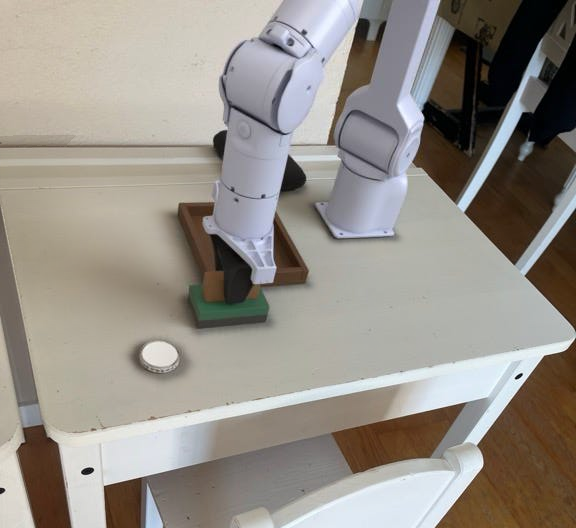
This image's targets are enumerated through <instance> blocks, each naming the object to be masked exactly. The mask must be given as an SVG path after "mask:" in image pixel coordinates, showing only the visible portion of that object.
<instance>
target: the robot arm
mask: <svg viewBox="0 0 576 528" xmlns="http://www.w3.org/2000/svg"><path fill="white" fill-rule="evenodd" d="M440 4H441V0H392V2H391V6H390V9H389V13H388V17H387V19H386V24H385V27H384V31H383V34H382V39H381V41H380V46H379V50H378V52H377V53H378V54H377V57H376V59H375V60H376V61H375V64H374V67H373V71H372V74H371V79H370V82H369V84H366V85H362V86H360V87H358V88H357V89H355V90H354V91H353V92H351V93H350V95H349V96H347V98H346V101H345V103H344V107H343V109H342V112H341V114H340V115H339V116H338V120H337V122H336V124H335V128H334V132H333V140H334V146H335V147H336V148H337V149H338V153H337V156H336V157H337V158H339V159H340V163H339V165H338V169H337V172H336V175H335V178H334V181H333V182H334V183H333V186H332V190H331V193H330V195H329V199H328V201H317V202H315V205H314V207H315V208H316V210H317V212H318V214H319V215H320V216H321V218H322V220H323V222H324V223H325V224H326V226H327V228H328V229H329V231H330V232H331V234H332V235H333V237H334V238H335V239H356V238H357V239H358V238H377V237H380V238H381V237H382V238H383V237H393V236H394V235H395V231H394V230H393V228H394V226H395V223H396V220H397V218H398V216H399V213H400V211H401V208H402V206H403V203H404V201H405V198H406V195H407V191H408V186H409V185H408V182H409V181H408V174H407V170H408V169H409V168H410V166H411V164H412V162H413V161H414V159H415V157H416V155H417V153H418V150H419V147H420V145H421V143H420V142H421V134H422V130H423V127H424V121H425V116H424V114H423V113H422V111H421V109H420V108H419V106H418V104H417V102H416V100H415V99H414V98H413V96H412V94H411V91H412V88H413V86H414V83H415V80H416V77H417V73H418V70H419V67H420V64H421V61H422V58H423V55H424V52H425V49H426V47H427V43H428V40H429V36H430V34H431V31H432V29H433V28H432V27H433V25H434V22H435V19H436V16H437V14H438V10H439V6H440ZM360 11H361V5H360V0H282V1H281V3H280V5H279V6H278V7H277V9H276V10H275V12H274V13H273V15H272V16H271V17H270V19H269V21H268V22H267V23H266V25H265V26H264V27H263V29H262V30H261V32H260V33H259V35H258V37H257V36H255V37H251V38H250V39H244V40H242V41H240V42H238V43H237V44H236V45H235V46H234V48H233V49H232V50H231V51H230V53H229V55H228V56H227V58H226V61H225V64H224V66H223V70H222V73H221V74H220V75H219V77H218V93H219V96H220V100H221V101H222V103H223V113H222V114H223V115H222V121H223V124H224V125H225V127H226V128H227V129H226V130H227V136H226V144H225V150H224V157H222V165H221V172H220V173H221V174H220V179H219V180H214V181H213V187H212V195H211V197H212V199H213V202H215V204H214V211H213V215H212V216H206V217H204V218H203V222H202V224H203V227H204V229H205V231H206V232H207V233H208V234H209V235H210V238H211V241H212V245H213V251H214V259H215V271H223V272H224V298H225V301H226V303H227V304H232V303H243V302H244V301H245V299H246V298H247V296H248V294H249V293H250V291H251V289H252V287H253V286H254V284H267V283H273V280H274V276H275V272H276V265H275V263H274V262H275V257H274V255H273V234H274V226H273V220H274V215H275V211H276V212H277V207H278V203H279V197H280V193H281V191H280V188H281V184H282V180H283V175H284V171H285V166H286V162H287V157H288V154H290V149H291V144H292V139H293V136H294V131H296V129H297V128H299V127H300V125H301V124H302V123H303V122H304V120H306V118H307V117H308V115H309V113H310V112H311V109H312V108H313V105H314V102H315V99H316V97H317V93H318V91H319V88H320V87H321V86H322V83H323V79H325V72H324V69H325V67H326V65H327V64H328V62H329V61H330V60H331V58H332V56H333V55H334V53H335V52H336V50H337V49H338V48H339V46H340V44H341V43H342V41H343V40H344V38H345V37H346V36H347V35H348V33H349V32H350V30H351V29H352V27H353V26H354V24H355V23H356V21H357V20H358V18H359V16H360V13H361V12H360Z"/></svg>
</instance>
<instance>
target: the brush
mask: <svg viewBox="0 0 576 528" xmlns="http://www.w3.org/2000/svg"><path fill="white" fill-rule="evenodd" d="M202 281H203V280H202ZM187 304H188V306H189V309H190V312H191V314H192V317H193V320H194V322H195V325H196V329H198V330H199V329H209V328H219V327H228V326H239V325H248V324H258V323H259V324H260V323H261V324H262V323H266V322H267V319H268V314H269V311H270V304H269V303H268V300H267V299H266V296H265V294H264V292H263V290H262V287H260V284H254V286H253V287H252V289H251V291H250V293H249V294H248V296H247V298H246V299H245V301H244V302H243V303H232V304H227V303H226V301H225V298H224V272H223V271H210V272H205V274H204V281H203V282H202V283H201V284H200V283H199V284H189V285H188V294H187Z"/></svg>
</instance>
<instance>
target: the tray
mask: <svg viewBox="0 0 576 528" xmlns="http://www.w3.org/2000/svg"><path fill="white" fill-rule="evenodd" d="M214 204H215V201H200V202H195V201H194V202H178V208H177V219H178V221H179V224H180V226H181V229H182V232H183V234H184V237H185V239H186V241H187V244H188V246H189V249H190V252H191V255H192V256H193V259H194V262H195V264H196V266H197V269H198V272H199V274H200V276H201V279H202V281H204V274H205V272H210V271H215V259H214V251H213V245H212V241H211V238H210V235H209V234H208V233H207V232H206V231H205V229H204V227H203V224H202V222H203V218H204V217H206V216H212V215H213V211H214ZM273 226H274V234H273V255H274V257H275V262H274V263H275V265H276V272H275V276H274V280H273V283H267V284H260V288H263V287H264V288H265V287H275V286H276V287H277V286H289V285H290V286H291V285H302V284H303V285H304V284H306V282H307V278H308V276H309V272H310V270H309V268H308V266H307V264H306V262H305V261H304V259H303V257H302V255H301V254H300V252H299V250H298V248H297V246H296V244H295V243H294V241H293V239H292V237H291V236H290V234H289V232H288V230H287V228H286V227H285V225H284V222H283V221H282V220H281V218H280V216H279V213H277V210H276V211H275V215H274V220H273Z"/></svg>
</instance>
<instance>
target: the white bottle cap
mask: <svg viewBox="0 0 576 528" xmlns="http://www.w3.org/2000/svg"><path fill="white" fill-rule="evenodd" d="M180 357H181V353H180V351H179V349H178V347H177V346H175V344H174V343H172V342H169V341H167V340H161V339H159V340H158V339H157V340H156V339H155V340H151V341H148V342H146V343H145V344H144V345H142V347H141V348H140V350H139V362H140V364H141V365H142V366H143V367H144V368H145V369H147V370H148V371H150V372H152V373H157V374H162V373H163V374H165V373H169V372H171V371H173V370H175V369H176V368H177V367H178V366H179V363H180V359H181V358H180Z"/></svg>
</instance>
